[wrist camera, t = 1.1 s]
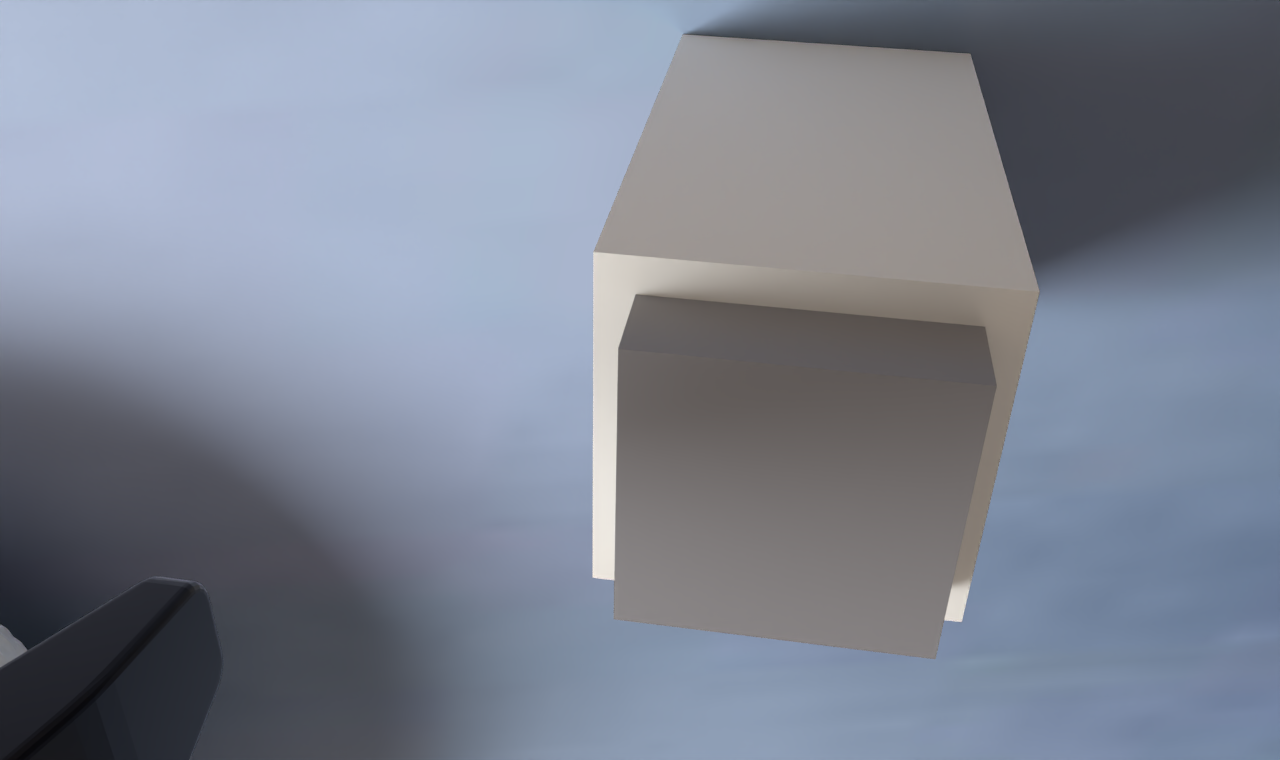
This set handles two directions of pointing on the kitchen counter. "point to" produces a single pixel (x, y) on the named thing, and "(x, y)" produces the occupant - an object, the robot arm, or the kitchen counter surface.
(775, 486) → the grey plug
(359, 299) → the kitchen counter surface
